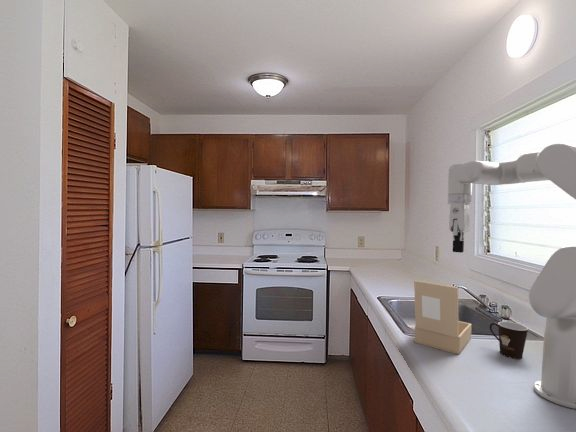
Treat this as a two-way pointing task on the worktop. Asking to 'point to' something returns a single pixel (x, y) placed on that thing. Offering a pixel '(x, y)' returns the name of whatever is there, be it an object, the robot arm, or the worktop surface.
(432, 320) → the lid
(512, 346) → the coffee mug
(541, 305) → the robot arm
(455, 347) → the tan shallow rectangular box
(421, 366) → the worktop surface
